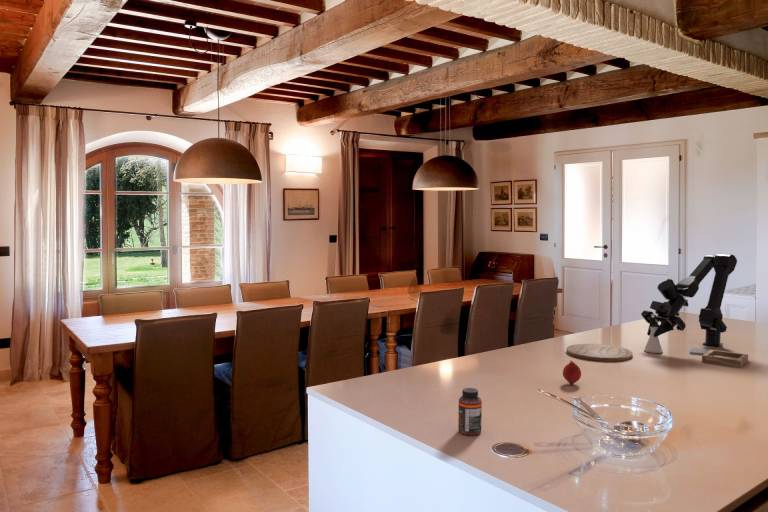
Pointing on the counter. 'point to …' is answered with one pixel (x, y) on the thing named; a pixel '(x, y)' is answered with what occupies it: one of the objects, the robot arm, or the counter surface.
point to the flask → (653, 342)
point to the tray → (725, 358)
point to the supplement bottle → (470, 412)
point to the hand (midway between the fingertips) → (651, 335)
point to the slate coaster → (699, 351)
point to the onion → (571, 372)
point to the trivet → (599, 352)
